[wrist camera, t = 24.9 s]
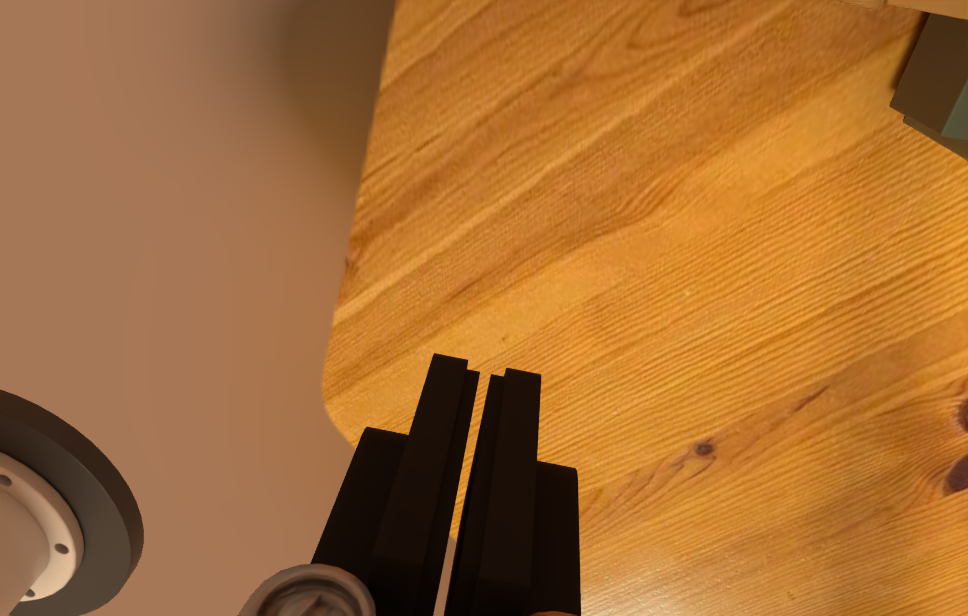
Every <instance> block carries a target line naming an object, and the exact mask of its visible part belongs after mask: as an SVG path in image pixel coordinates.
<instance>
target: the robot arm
mask: <svg viewBox="0 0 968 616" xmlns="http://www.w3.org/2000/svg"><path fill="white" fill-rule="evenodd" d="M467 365H468V360H466V359H461V358H456V357H451V356H446V355H441V354H436V353H434V355H433V357H432V361H431V364H430V367H429V370H428V374H427V377H426V380H425V383H424V387H423V390H422V393H421V396H420V400H419V403H418V406H417V409H416V413H415V416H414V419H413V422H412V426H411V429H410V432H409V435H406V434H401V433H396V432H391V431H386V430H381V429H376V428H371V427H366V428H365V430H364V432H363V434H362V436H361V438H360V441H359V443H358V446H357V448H356V451H355V453H354V456H353V459H352V461H351V464H350V466H349V468H348V471H347V473H346V476H345V478H344V481H343V483H342V486H341V488H340V491H339V493H338V496H337V499H336V501H335V504H334V506H333V509H332V511H331V514H330V516H329V518H328V521H327V524H326V526H325V529H324V531H323V534H322V536H321V539H320V541H319V544H318V546H317V549H316V551H315V554H314V556H313V559H312V562H311V564H304V565H298V566H295V567H291V568H288V569H285V570H282V571H280V572H278V573H276V574H275V575H273V576H272V577H270V578H268V579H267V580H265V581H264V582H263V583H262V584H261V585H260V586H259V587H258V588H257V589H256V590H255V592H254V593H253V594H252V595H251V596H250V597H249V599H248V600H247V602H246V603H245V605H244V606H243V608H242V610H241V611H240V612H239V614H238V615H237V616H433V612H434V608H435V603H436V598H437V594H438V589H439V584H440V579H441V574H442V568H443V564H444V558H445V553H446V548H447V543H448V538H449V532H450V527H451V522H452V517H453V511H454V506H455V501H456V496H457V490H458V485H459V480H460V475H461V469H462V464H463V459H464V454H465V449H466V443H467V438H468V433H469V428H470V422H471V417H472V412H473V407H474V401H475V396H476V391H477V386H478V380H479V375H480V372H478V371H473V370H468V369H467ZM540 391H541V374H536V373H531V372H526V371H521V370H516V369H511V368H506V371H505V375H504V377H503V376H498V375H493V374H491V377H490V381H489V386H488V391H487V396H486V400H485V405H484V410H483V415H482V419H481V424H480V429H479V434H478V438H477V443H476V448H475V453H474V457H473V462H472V467H471V471H470V476H469V481H468V486H467V490H466V495H465V500H464V505H463V510H462V515H461V520H460V526H459V532H458V537H457V543H456V549H455V554H454V560H453V566H452V571H451V577H450V583H449V589H448V595H447V600H446V606H445V611H444V616H581V593H580V549H579V506H578V475H577V470H576V468H571V467H566V466H561V465H556V464H551V463H546V462H541V461H537V448H538V429H539V410H540ZM83 553H84V543H83V535H82V532H81V529H80V526H79V523H78V521H77V519H76V517H75V515H74V514H73V512H72V510H71V508H70V507H69V505H68V504H67V503H66V502H65V500H64V499H63V498H62V497H61V495H60V494H59V493H58V492H57V491H56V490H55V489H54V488H53V487H52V486H51V485H50V484H49V483H48V482H47V481H46V480H45V479H44V478H42V477H41V476H40V475H38V474H37V473H36V472H34V471H33V470H31V469H30V468H29V467H27V466H26V465H24V464H23V463H21V462H19V461H17V460H15V459H14V458H12V457H10V456H8V455H6V454H4V453H2V452H0V616H8V615H9V613H10V612H11V611H12V610H13V609H14V607H15V606H16V605H17V604H18V602H19V601H29V600H36V599H41V598H44V597H47V596H50V595H52V594H54V593H56V592H57V591H59V590H60V589H62V588H63V587H64V586H65V585H66V584H67V583H68V581H69V580H70V579H71V578H72V576H73V575H74V574H75V573H76V571H77V569H78V568H79V566H80V564H81V562H82V558H83Z"/></svg>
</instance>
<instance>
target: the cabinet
mask: <svg viewBox="0 0 968 616" xmlns="http://www.w3.org/2000/svg"><path fill="white" fill-rule="evenodd" d="M903 122H904V123H905V124H907V125H908V126H910V127H912V128H914V129H916V130H917V131H919V132H921V133H922V134H924V135H926V136H927V137H929V138H931V139H932V140H934V141H936V142H937V143H939V144H941V145H942V146H944V147H946V148H947V149H949V150H951V151H952V152H954V153H956V154H957V155H959V156H961V157H962V158H964V159H966V160H967V161H968V141H963V140H958V139H953V138H948V137H943V136H940V135H938V134H937V133H935V132H933V131H931V130H930V129H928V128H926V127H924V126H923V125H921V124H919V123H917V122H916V121H914V120H912V119H910V118H909V117H907V116H905V119H904V121H903Z"/></svg>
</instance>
